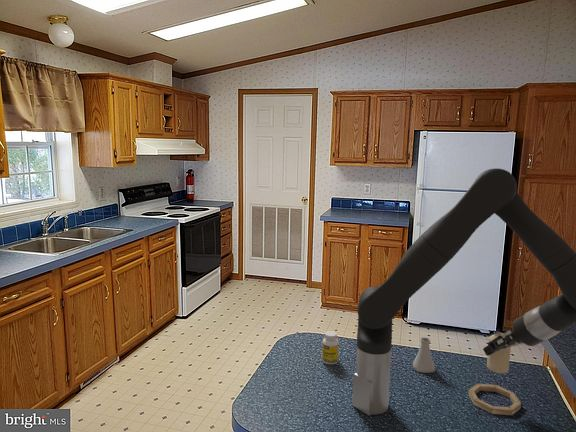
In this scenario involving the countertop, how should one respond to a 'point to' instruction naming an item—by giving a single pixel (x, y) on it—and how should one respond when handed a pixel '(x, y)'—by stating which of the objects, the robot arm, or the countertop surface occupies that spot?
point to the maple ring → (490, 408)
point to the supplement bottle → (330, 348)
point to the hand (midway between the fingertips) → (493, 349)
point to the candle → (498, 358)
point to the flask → (424, 358)
